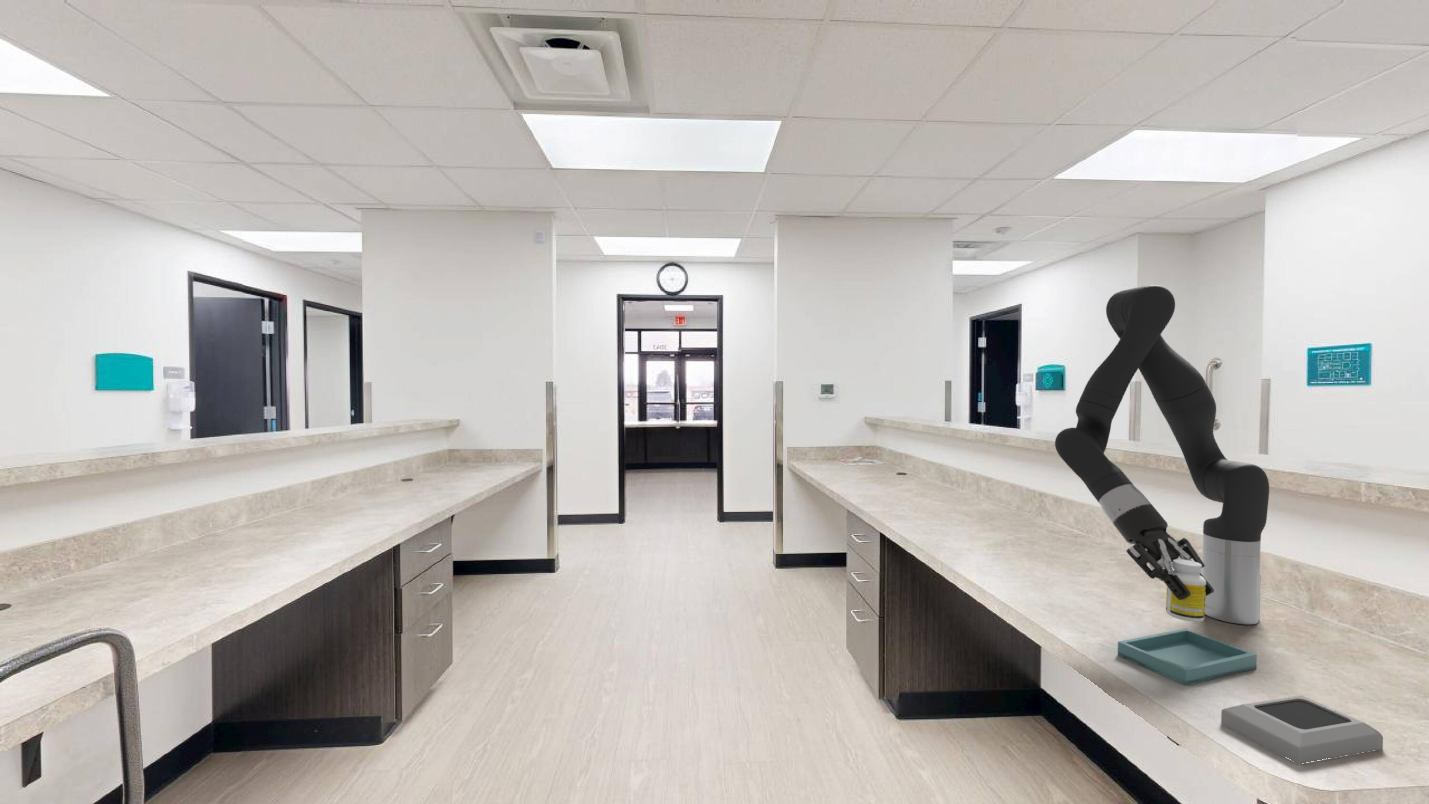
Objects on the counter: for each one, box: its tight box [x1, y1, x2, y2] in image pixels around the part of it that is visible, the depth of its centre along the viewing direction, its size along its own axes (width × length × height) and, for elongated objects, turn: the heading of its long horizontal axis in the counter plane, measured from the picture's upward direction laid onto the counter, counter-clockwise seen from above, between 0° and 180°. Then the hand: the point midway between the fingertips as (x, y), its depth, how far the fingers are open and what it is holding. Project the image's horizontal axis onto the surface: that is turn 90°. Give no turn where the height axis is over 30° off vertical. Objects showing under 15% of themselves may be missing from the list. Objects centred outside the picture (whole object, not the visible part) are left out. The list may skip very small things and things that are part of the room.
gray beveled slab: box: [1220, 695, 1384, 765], centre depth 83 cm, size 10×4×15 cm
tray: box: [1117, 627, 1258, 686], centre depth 105 cm, size 18×12×2 cm, turn 109°
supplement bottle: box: [1165, 558, 1206, 623], centre depth 105 cm, size 5×5×10 cm
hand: (1197, 595), depth 103 cm, fingers closed on supplement bottle, 5 cm apart
